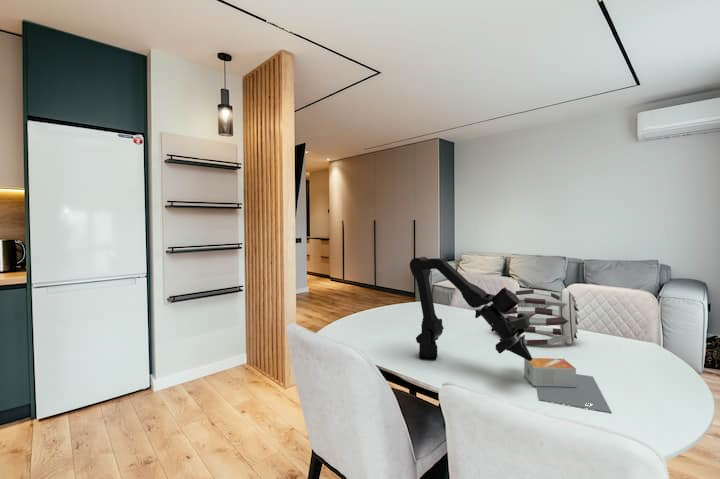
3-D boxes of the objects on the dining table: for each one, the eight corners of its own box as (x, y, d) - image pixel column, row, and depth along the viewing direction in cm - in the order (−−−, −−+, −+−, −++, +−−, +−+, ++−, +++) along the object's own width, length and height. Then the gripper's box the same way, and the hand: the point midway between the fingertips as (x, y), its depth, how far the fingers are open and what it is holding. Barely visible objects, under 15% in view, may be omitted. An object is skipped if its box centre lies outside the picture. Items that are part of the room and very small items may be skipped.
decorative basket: (578, 355, 135) (487, 343, 156) (583, 337, 157) (502, 329, 178) (575, 293, 135) (483, 290, 156) (580, 284, 157) (499, 282, 178)
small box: (524, 357, 119) (563, 358, 118) (523, 375, 119) (563, 376, 118) (533, 367, 111) (576, 368, 110) (533, 386, 111) (576, 388, 110)
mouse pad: (538, 400, 103) (538, 399, 103) (533, 368, 125) (533, 367, 125) (611, 413, 96) (611, 412, 96) (592, 377, 118) (592, 376, 118)
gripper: (506, 312, 108) (545, 355, 102) (521, 301, 122) (556, 338, 116) (480, 332, 113) (516, 374, 107) (498, 319, 128) (530, 356, 121)
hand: (531, 360), depth 113 cm, fingers closed
